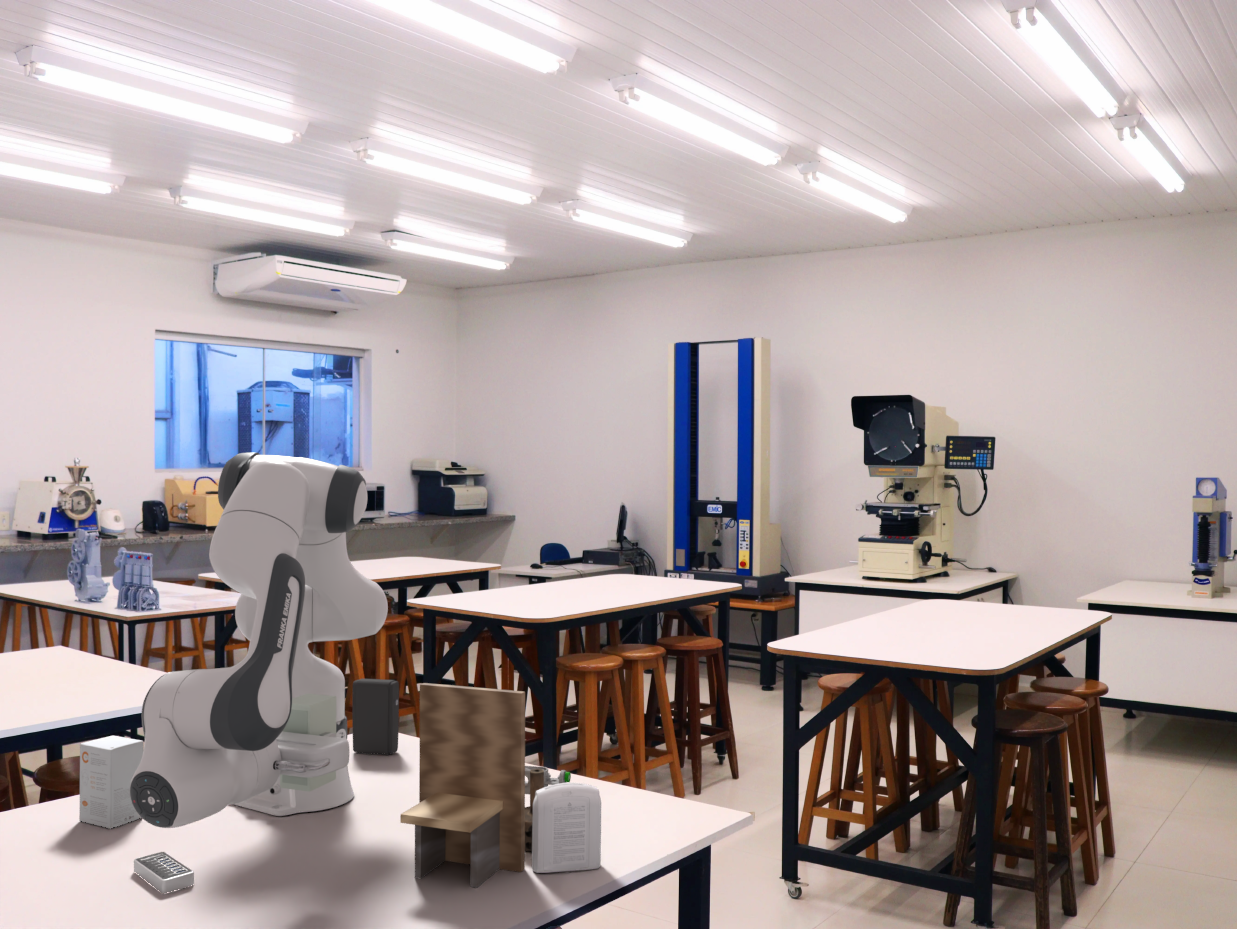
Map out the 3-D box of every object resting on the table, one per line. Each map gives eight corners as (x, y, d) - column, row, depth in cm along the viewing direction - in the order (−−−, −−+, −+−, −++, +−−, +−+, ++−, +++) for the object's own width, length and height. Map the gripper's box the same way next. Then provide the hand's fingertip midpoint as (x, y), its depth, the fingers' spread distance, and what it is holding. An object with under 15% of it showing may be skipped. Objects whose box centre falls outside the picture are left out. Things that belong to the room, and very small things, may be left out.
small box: (144, 817, 167) (144, 740, 167) (110, 830, 161) (110, 749, 161) (112, 810, 170) (113, 734, 170) (78, 821, 165) (78, 743, 165)
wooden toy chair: (381, 882, 141) (382, 698, 141) (423, 853, 151) (423, 682, 151) (489, 900, 135) (489, 708, 135) (524, 869, 145) (525, 691, 146)
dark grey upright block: (401, 751, 206) (401, 679, 206) (393, 756, 202) (393, 683, 203) (359, 748, 208) (360, 677, 208) (351, 754, 204) (351, 681, 204)
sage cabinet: (279, 787, 140) (280, 702, 140) (307, 775, 145) (307, 693, 146) (309, 791, 138) (310, 705, 138) (335, 779, 144) (336, 696, 144)
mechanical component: (567, 836, 159) (567, 773, 159) (505, 831, 161) (505, 769, 161) (571, 829, 161) (571, 768, 162) (511, 825, 164) (511, 764, 164)
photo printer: (597, 859, 149) (598, 776, 149) (604, 870, 145) (604, 785, 145) (529, 865, 147) (530, 781, 147) (534, 876, 143) (534, 790, 143)
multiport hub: (162, 897, 136) (163, 880, 136) (132, 875, 144) (132, 859, 144) (195, 887, 140) (195, 871, 140) (163, 866, 147) (164, 850, 147)
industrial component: (511, 840, 157) (511, 764, 157) (557, 837, 158) (557, 761, 158) (516, 863, 148) (516, 782, 148) (564, 860, 149) (564, 780, 149)
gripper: (312, 746, 126) (374, 720, 139) (185, 731, 133) (255, 707, 146) (312, 796, 126) (374, 765, 139) (184, 778, 133) (255, 750, 146)
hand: (312, 735), depth 143 cm, fingers closed on sage cabinet, 5 cm apart
